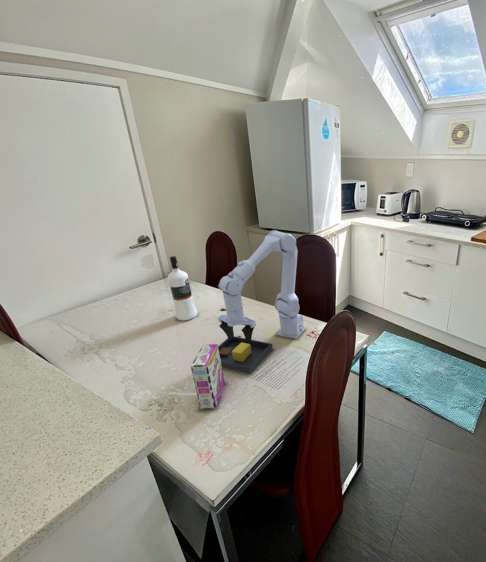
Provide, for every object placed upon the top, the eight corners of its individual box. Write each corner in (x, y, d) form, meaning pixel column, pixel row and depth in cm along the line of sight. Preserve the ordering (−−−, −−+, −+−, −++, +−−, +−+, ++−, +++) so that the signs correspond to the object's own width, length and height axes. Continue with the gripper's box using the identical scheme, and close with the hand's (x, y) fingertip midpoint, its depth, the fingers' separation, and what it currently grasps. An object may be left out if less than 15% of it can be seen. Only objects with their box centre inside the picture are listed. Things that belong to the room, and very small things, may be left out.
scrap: (232, 350, 122) (232, 348, 121) (227, 357, 118) (227, 354, 118) (223, 349, 122) (222, 347, 122) (217, 356, 119) (217, 353, 118)
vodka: (184, 310, 153) (170, 252, 141) (201, 312, 151) (188, 253, 139) (172, 320, 145) (155, 259, 132) (190, 322, 143) (175, 260, 131)
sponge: (251, 352, 120) (250, 344, 119) (242, 362, 115) (240, 353, 113) (242, 350, 121) (241, 342, 120) (233, 360, 116) (231, 351, 115)
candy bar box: (217, 409, 95) (207, 365, 89) (200, 410, 95) (189, 366, 88) (226, 383, 106) (218, 343, 99) (211, 384, 105) (202, 344, 99)
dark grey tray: (272, 350, 123) (272, 343, 121) (250, 374, 109) (249, 368, 108) (231, 341, 128) (230, 335, 127) (206, 364, 115) (204, 357, 114)
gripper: (210, 310, 109) (216, 343, 115) (245, 316, 105) (250, 350, 110) (222, 301, 115) (228, 332, 121) (256, 307, 111) (261, 339, 117)
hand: (240, 340), depth 116 cm, fingers open, 7 cm apart
